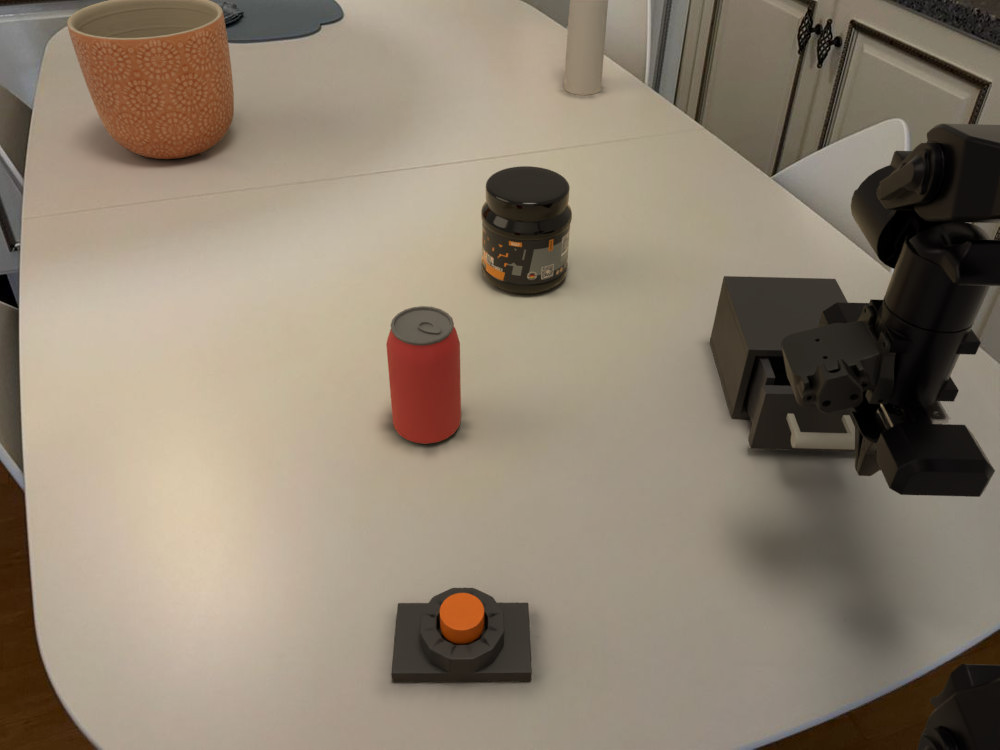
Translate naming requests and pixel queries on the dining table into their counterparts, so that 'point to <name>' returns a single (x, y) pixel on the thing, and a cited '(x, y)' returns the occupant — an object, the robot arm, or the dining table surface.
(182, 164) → the dining table surface
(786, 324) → the small storage cabinet
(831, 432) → the drawer
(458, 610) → the button
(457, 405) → the beer can
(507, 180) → the supplement container
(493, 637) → the control block
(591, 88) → the bottle
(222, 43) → the planter
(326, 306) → the dining table surface
